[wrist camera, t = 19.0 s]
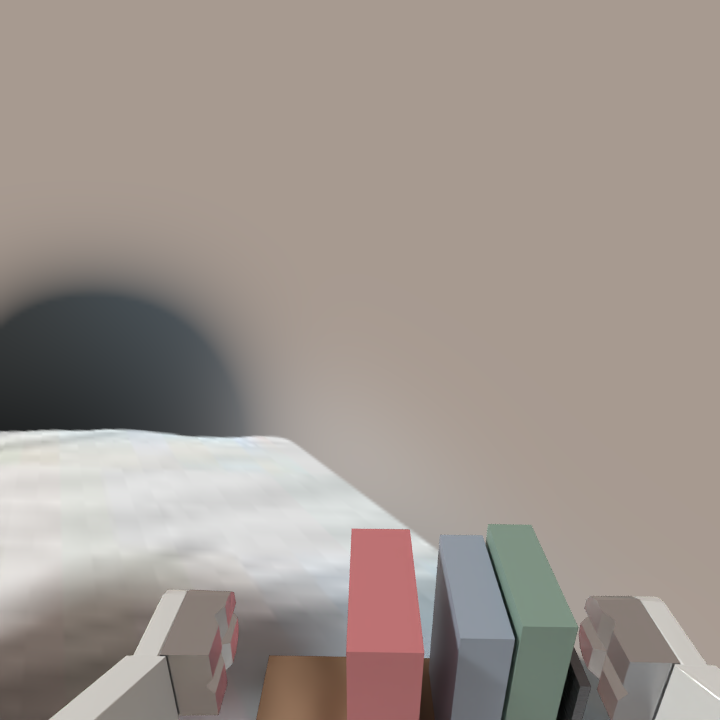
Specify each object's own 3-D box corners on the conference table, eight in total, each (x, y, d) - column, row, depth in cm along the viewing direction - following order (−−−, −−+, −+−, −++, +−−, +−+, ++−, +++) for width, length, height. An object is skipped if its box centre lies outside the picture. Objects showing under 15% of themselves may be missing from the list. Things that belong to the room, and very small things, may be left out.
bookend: (550, 799, 31) (580, 686, 27) (511, 665, 39) (529, 563, 35) (559, 800, 31) (591, 686, 27) (518, 665, 39) (537, 563, 35)
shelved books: (443, 788, 31) (462, 625, 26) (428, 669, 39) (440, 523, 33) (538, 790, 31) (578, 627, 26) (505, 671, 39) (531, 524, 33)
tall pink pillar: (348, 817, 30) (346, 651, 24) (352, 676, 38) (351, 528, 33) (411, 818, 30) (424, 653, 24) (401, 677, 38) (409, 529, 33)
